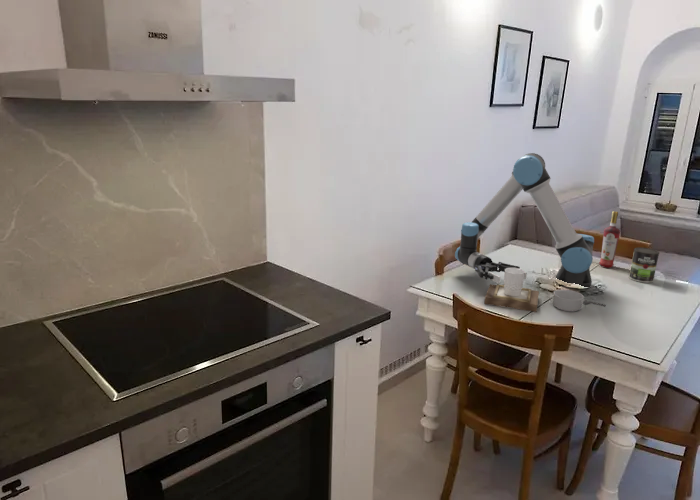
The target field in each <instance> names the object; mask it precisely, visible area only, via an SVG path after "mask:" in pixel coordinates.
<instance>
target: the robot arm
mask: <svg viewBox="0 0 700 500" xmlns="http://www.w3.org/2000/svg"><path fill="white" fill-rule="evenodd" d="M551 179H552V178H551V176H550V175H549V173H548V170H547V169H546V161H545V160H544V158H543V157H542V155H540V154H538V153H535V152H532V153H531V152H530V153H526V154H524V155H522V156H521V157H520V158H518V159H517V160H516V161H515V163H514V165H513V169H512V171H511V175H510V178H508V180H507V181H506V182H505V183H504V184H503V185H502V187H501V188H500V189H499V190H498V191H497V192H496V193H495V195H494V196H493V197H492V198H491V199H490V200H489V202H488V203H487V204H486V205H485V206H484V207H483V208H482V209H481V211H479V213H478V214H477V215H476V217H475V218H473V220H472V221H471V222H470V221H469V222H467V221H466V222H464V223H462V225H461V230H460V245H459V247H457V248H456V251H455V252H454V258H455V259H456V260H457V261H458V262H459V263H461V264H462V265H465V266H468V267H470V268H471V269H474V271H475V272H476V273H477V274H478V276H479V278H480V279H484V280H485V281H487V280H490V281H493V282H495V283H497V284H500V283H501V276H499V275H497V274H496V272H497V273H501V272H503V273H505V269H506V268H519V269H521V268H520V266H519V265H512V264H509V263H505V262H502V261H498V263H497V262H494V261H493V259H492V258H491V257H489V256H487V255H485V254H483V253H481V252H478V251H477V248H478V239H479V238H480V237H481V236H482V235H483V234H484V233H485V232H486V231H487V230H488V228H489V227H490V226H491V225H492V223H494V222H495V221H496V219H497V218H498V217H499V216H500V215H501V214H502V212H504V210H505V209H506V208H507V207H508V206H509V205H510V204H511V203H512V201H514V199H515V198H516V197H517V196H518V195H519V194H520V193H521V191H522V190H523V191H524V193H527V194H529V195H530V196H531V199H532V200H533V201H534V204H535V206H536V207H537V210H538V211H539V212H540V215H541V216H542V218H543V220H544V222H545V224H546V226H547V227H548V229H549V231H550V233H551V235H552V236H553V238H554V241H555V242H556V244H555V247H554V249H555V250H556V252H557V253H558V255H559V257H560V262H561V265H560V267H559V270H558V271H557V273H556V274H555V279H556V278H557V279H559V280H562V281H564V282H567V283H575V284H579V285H581V286H584V287H590V286H591V287H592V283H593V282H592V276H591V271H590V267H591V266H592V264H593V249H594V244H595V237H594V236H592V235H589V234H583V233H577V232H576V230H575V228H574V226H573V225H572V223H571V221H570V219H569V218H568V216H567V214H566V211H565V210H564V208H563V206H562V204H561V203H560V201H559V199H558V197H557V195H556V194H555V192H554V190H553V187H552V186H551V184H550V182H551ZM494 272H495V273H494ZM527 275H528V274H527V272H526V271H525V275H524V280H527ZM591 287H590V288H591Z"/></svg>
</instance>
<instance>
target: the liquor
mask: <svg viewBox="0 0 700 500" xmlns="http://www.w3.org/2000/svg"><path fill="white" fill-rule="evenodd" d="M618 215H619V211H614V210H613V211H612V212H611V219H610V224H609V226H607V227H605V228H604V229H603V236H602V243H601V253H600V261H599V262H598V264H599V265H600V267H602V268H606V269H611V268H613V267H614V266H615V264H614V263H615V257H616V254H617V253H616V251H617V248H618V244H619V239H620V235H621V230H620V229H619V228H618V227H617V219H618Z"/></svg>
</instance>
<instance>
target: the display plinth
mask: <svg viewBox="0 0 700 500" xmlns="http://www.w3.org/2000/svg"><path fill="white" fill-rule="evenodd" d="M539 294H540V291H539V290H535V289H532V288H526V287H522V290H521V295H520V296H509V295H506V294H505V293H504V284H500V283H497V284H493V283H492V284H491V283H490V284H489V286H488V289H487V291H486V294H485V296H484V304H485V305H489V306H497V307H502V308H509V309H515V310H516V309H517V310H521V311H529V312H535V313H537V309H538V302H539Z"/></svg>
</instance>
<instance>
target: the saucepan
mask: <svg viewBox="0 0 700 500" xmlns="http://www.w3.org/2000/svg"><path fill="white" fill-rule="evenodd" d="M552 304H553V306H554V307H555V308H557V309H558V310H561V311H565V312H577V311H580V310H581V309H582V306H583V305H585V306H587V305H595V306H600V307H603V308H605V307H607V304H605V303H600V302H596V301H591V300H586V299H585V296H584V295H583V294H582V293H580V292H578V291H575V290H571V289H555V290H553V301H552Z"/></svg>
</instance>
